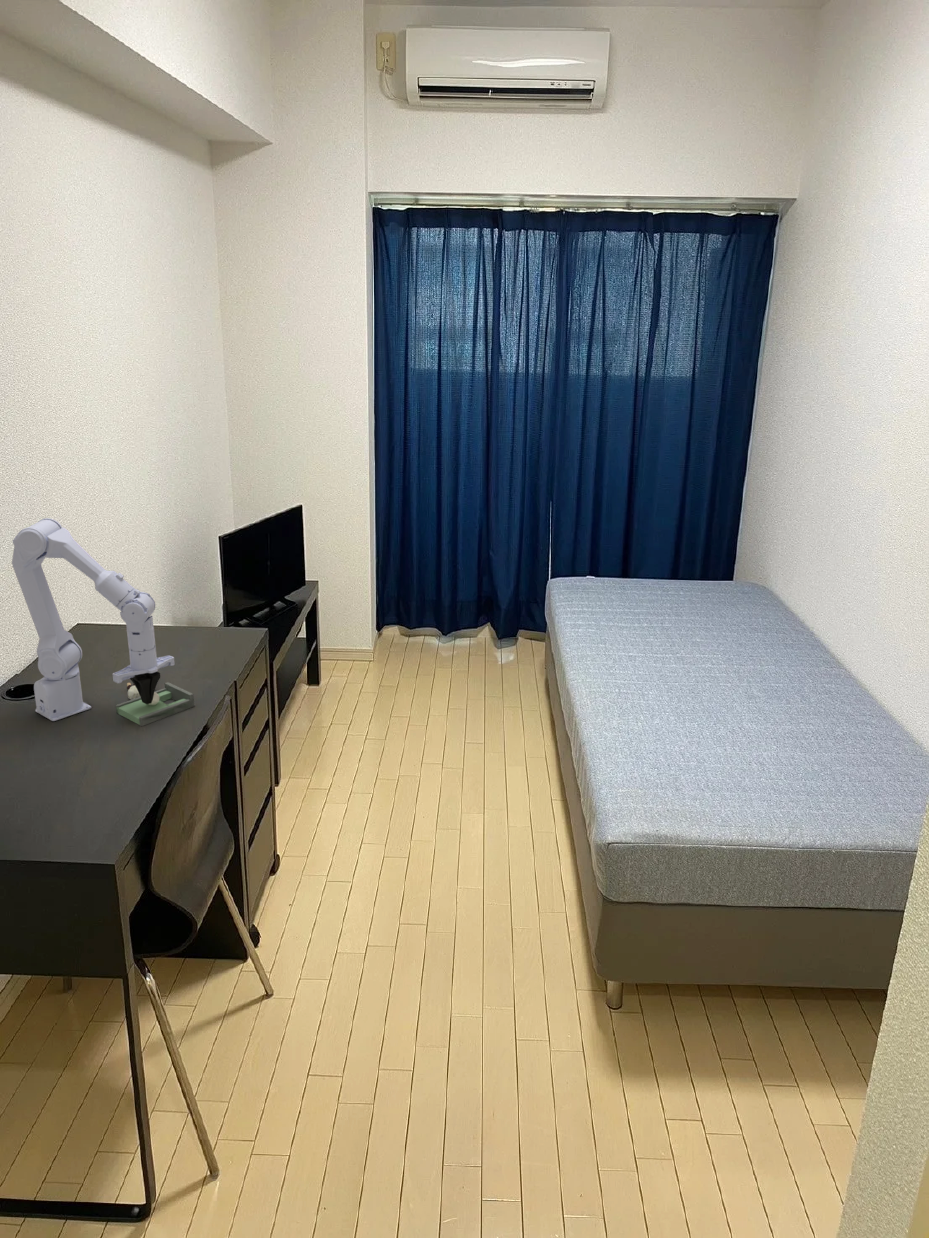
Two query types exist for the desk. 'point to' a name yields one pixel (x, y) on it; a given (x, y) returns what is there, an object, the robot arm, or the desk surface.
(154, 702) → the ball
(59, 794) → the desk surface
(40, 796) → the desk surface
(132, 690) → the grandmother figurine
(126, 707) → the green walled tray
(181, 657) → the desk surface
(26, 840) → the desk surface
